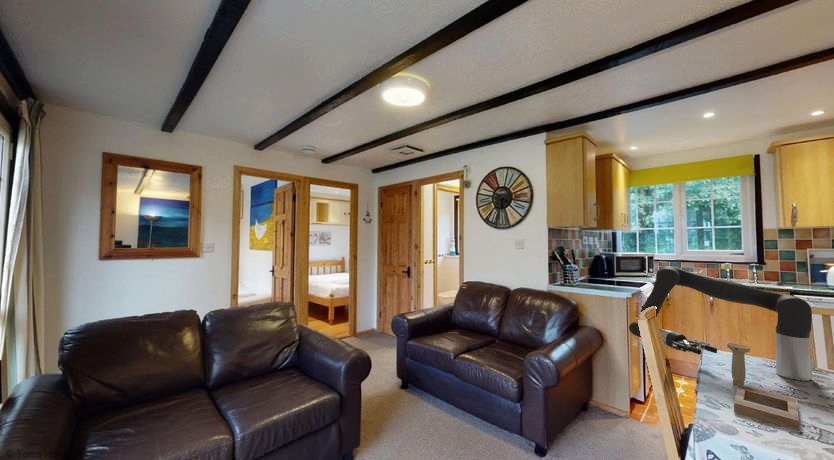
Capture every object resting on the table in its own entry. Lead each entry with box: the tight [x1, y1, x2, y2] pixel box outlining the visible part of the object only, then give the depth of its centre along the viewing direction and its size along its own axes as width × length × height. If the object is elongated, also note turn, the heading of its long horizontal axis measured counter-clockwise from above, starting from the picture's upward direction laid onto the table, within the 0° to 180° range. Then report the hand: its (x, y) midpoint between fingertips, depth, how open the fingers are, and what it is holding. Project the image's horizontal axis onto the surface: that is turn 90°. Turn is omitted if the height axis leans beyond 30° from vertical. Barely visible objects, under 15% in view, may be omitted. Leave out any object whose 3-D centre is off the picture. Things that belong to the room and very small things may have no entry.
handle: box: [726, 342, 751, 386], centre depth 128 cm, size 5×6×15 cm
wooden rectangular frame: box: [733, 384, 800, 431], centre depth 109 cm, size 20×14×3 cm
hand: (708, 351), depth 138 cm, fingers open, 8 cm apart
